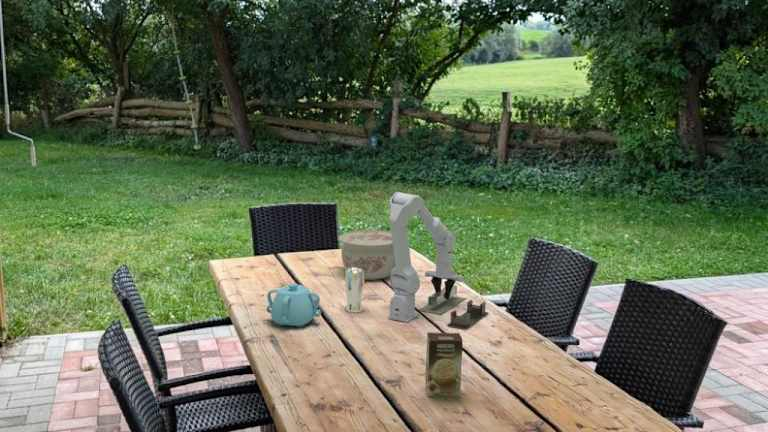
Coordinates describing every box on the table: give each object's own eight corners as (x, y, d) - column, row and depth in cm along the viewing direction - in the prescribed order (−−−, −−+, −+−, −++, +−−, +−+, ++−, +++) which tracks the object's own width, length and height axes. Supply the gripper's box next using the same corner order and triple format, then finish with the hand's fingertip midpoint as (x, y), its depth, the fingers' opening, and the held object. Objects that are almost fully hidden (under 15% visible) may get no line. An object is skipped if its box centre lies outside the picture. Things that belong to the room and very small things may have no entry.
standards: (465, 330, 255) (466, 317, 255) (447, 326, 259) (447, 313, 258) (488, 313, 272) (488, 301, 272) (470, 310, 276) (470, 298, 275)
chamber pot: (328, 271, 327) (328, 224, 323) (385, 265, 338) (386, 219, 334) (353, 288, 302) (353, 237, 298) (414, 281, 313) (415, 232, 309)
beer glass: (365, 307, 279) (365, 267, 276) (362, 313, 272) (362, 272, 269) (346, 306, 279) (346, 267, 276) (343, 312, 272) (343, 272, 270)
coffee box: (426, 397, 203) (428, 340, 200) (424, 387, 210) (426, 332, 206) (461, 397, 204) (462, 340, 200) (458, 387, 210) (459, 332, 207)
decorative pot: (324, 326, 258) (324, 287, 256) (279, 332, 251) (278, 293, 249) (307, 312, 273) (307, 275, 270) (264, 318, 266) (263, 280, 263)
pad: (441, 315, 271) (441, 314, 271) (418, 310, 275) (418, 309, 275) (465, 299, 290) (465, 298, 289) (444, 295, 294) (444, 294, 294)
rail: (435, 306, 273) (436, 298, 273) (428, 305, 275) (428, 296, 274) (456, 293, 289) (456, 285, 288) (449, 292, 290) (449, 284, 290)
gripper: (466, 262, 279) (465, 297, 282) (430, 257, 286) (430, 292, 289) (458, 266, 273) (457, 302, 276) (422, 261, 280) (421, 296, 283)
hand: (443, 297), depth 282 cm, fingers closed on rail, 3 cm apart
